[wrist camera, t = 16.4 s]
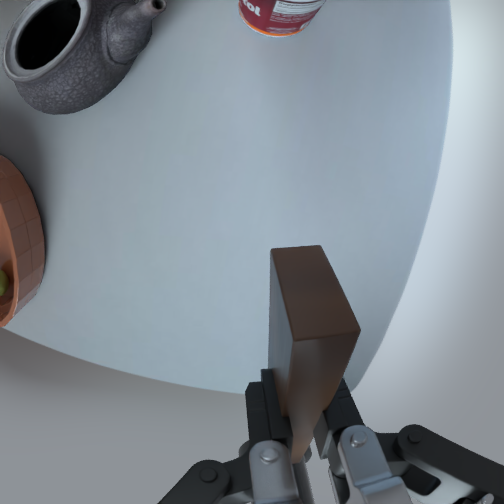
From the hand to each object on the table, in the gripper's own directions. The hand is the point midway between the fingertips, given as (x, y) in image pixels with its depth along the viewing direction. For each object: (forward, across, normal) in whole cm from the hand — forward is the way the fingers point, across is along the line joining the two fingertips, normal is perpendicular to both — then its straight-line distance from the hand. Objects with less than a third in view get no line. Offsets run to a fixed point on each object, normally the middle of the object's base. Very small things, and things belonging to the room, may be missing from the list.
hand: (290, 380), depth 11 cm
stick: (+1, 0, 0) cm, 1 cm away
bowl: (+15, +30, -5) cm, 34 cm away
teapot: (+15, +12, -23) cm, 30 cm away
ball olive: (+12, +29, +1) cm, 32 cm away
